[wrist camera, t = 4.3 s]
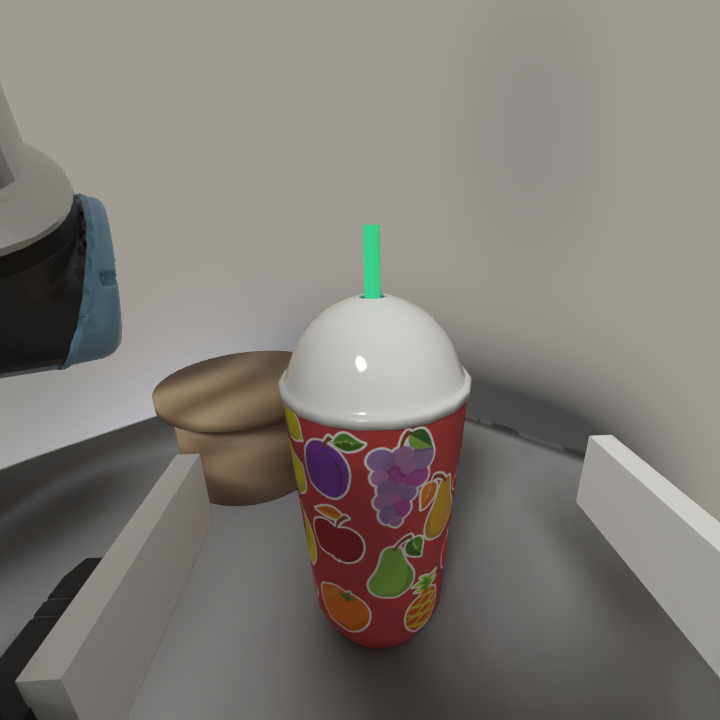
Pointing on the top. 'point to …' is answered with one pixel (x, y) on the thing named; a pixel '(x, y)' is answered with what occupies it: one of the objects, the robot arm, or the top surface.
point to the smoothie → (375, 456)
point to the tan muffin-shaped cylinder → (232, 424)
